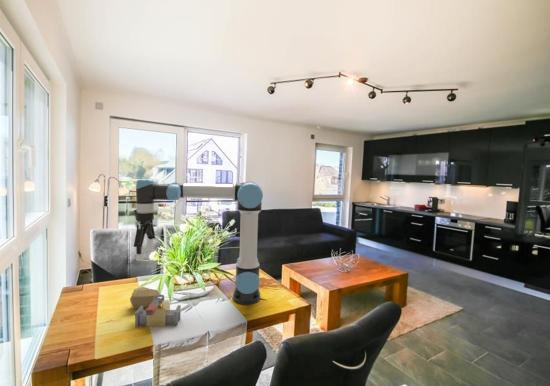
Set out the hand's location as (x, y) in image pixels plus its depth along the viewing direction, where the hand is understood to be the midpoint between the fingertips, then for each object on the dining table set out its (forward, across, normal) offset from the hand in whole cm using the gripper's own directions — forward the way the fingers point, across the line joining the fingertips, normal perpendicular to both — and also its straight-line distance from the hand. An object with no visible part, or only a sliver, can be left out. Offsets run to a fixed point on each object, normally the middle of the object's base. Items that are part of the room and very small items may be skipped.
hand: (145, 256), depth 132 cm
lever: (+18, +14, +9) cm, 25 cm away
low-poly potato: (+28, -5, -2) cm, 29 cm away
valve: (+28, +10, +9) cm, 31 cm away
